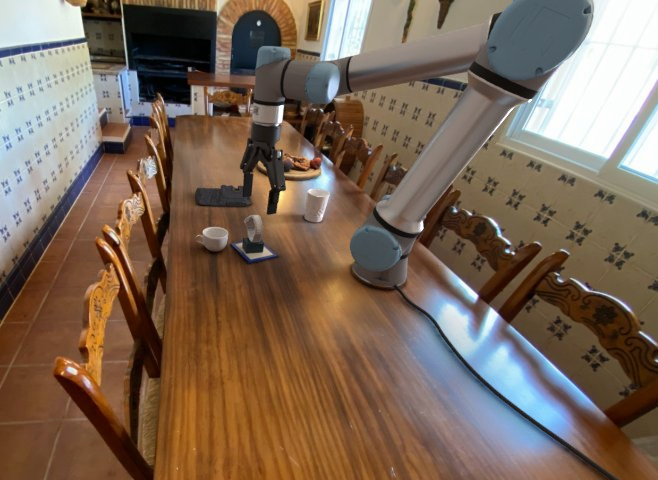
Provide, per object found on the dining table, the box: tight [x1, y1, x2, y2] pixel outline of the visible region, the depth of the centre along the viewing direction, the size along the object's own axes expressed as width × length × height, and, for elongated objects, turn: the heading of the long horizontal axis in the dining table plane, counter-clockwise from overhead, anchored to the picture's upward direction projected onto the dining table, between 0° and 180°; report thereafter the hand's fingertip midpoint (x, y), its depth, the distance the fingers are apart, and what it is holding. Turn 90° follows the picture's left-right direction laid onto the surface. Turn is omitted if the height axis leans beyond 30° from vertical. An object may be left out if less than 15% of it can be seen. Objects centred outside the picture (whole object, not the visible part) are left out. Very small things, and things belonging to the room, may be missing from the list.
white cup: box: [303, 188, 331, 223], centre depth 131 cm, size 8×8×10 cm
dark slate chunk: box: [194, 184, 252, 208], centre depth 142 cm, size 15×22×5 cm
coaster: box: [230, 240, 278, 264], centre depth 112 cm, size 12×10×1 cm
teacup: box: [195, 226, 229, 252], centre depth 110 cm, size 10×8×5 cm
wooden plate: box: [256, 148, 323, 181], centre depth 175 cm, size 32×32×8 cm
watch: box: [242, 214, 265, 254], centre depth 108 cm, size 6×8×11 cm
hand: (258, 204), depth 102 cm, fingers open, 13 cm apart
